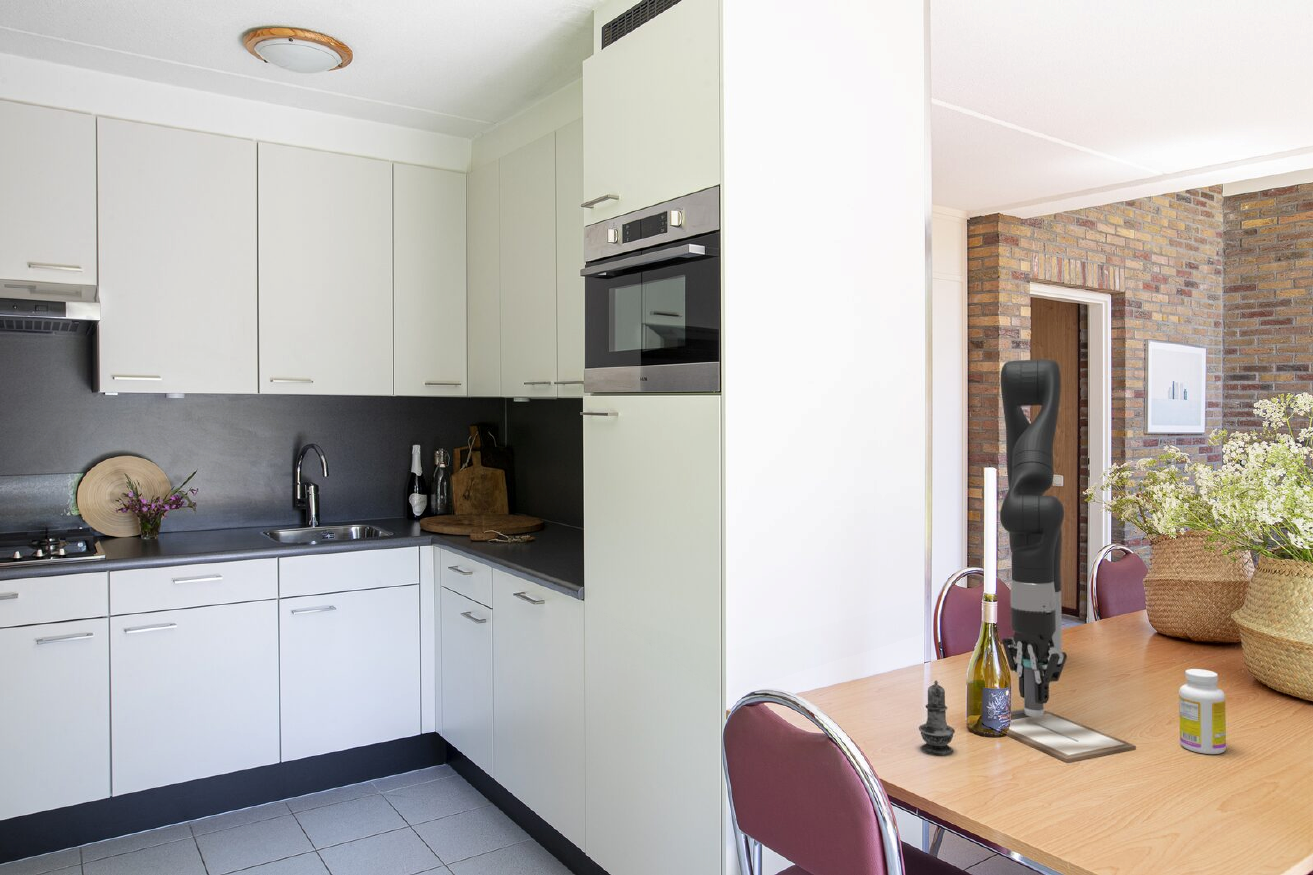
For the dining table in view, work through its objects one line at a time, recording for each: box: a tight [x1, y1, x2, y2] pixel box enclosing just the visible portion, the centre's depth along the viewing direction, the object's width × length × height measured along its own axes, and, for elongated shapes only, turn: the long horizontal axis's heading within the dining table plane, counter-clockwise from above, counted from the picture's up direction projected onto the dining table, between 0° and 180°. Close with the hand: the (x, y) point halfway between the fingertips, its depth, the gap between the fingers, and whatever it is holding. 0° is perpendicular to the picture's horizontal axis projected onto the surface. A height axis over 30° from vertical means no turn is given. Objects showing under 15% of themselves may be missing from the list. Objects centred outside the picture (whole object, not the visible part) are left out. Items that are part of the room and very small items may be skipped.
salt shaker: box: [918, 679, 956, 757], centre depth 152 cm, size 6×6×12 cm
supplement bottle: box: [1178, 668, 1227, 755], centre depth 150 cm, size 7×7×13 cm
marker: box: [1023, 658, 1045, 717], centre depth 161 cm, size 3×3×10 cm
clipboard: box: [1006, 708, 1137, 764], centre depth 157 cm, size 20×15×2 cm
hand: (1033, 699), depth 161 cm, fingers closed on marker, 3 cm apart
